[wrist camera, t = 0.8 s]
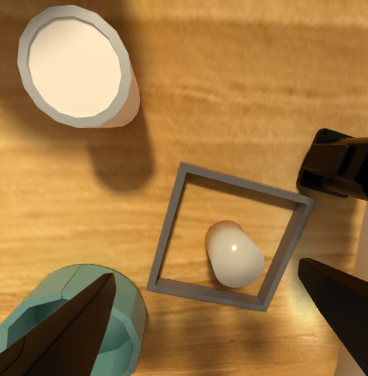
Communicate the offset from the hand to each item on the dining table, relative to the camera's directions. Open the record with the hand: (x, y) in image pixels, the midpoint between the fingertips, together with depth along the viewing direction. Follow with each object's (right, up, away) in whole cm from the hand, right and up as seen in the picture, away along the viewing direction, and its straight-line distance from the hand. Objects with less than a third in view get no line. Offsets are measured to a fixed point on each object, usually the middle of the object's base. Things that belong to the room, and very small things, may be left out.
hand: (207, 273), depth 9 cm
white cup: (-8, +13, +9) cm, 18 cm away
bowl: (-13, -12, +15) cm, 23 cm away
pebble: (+4, -2, +14) cm, 14 cm away
